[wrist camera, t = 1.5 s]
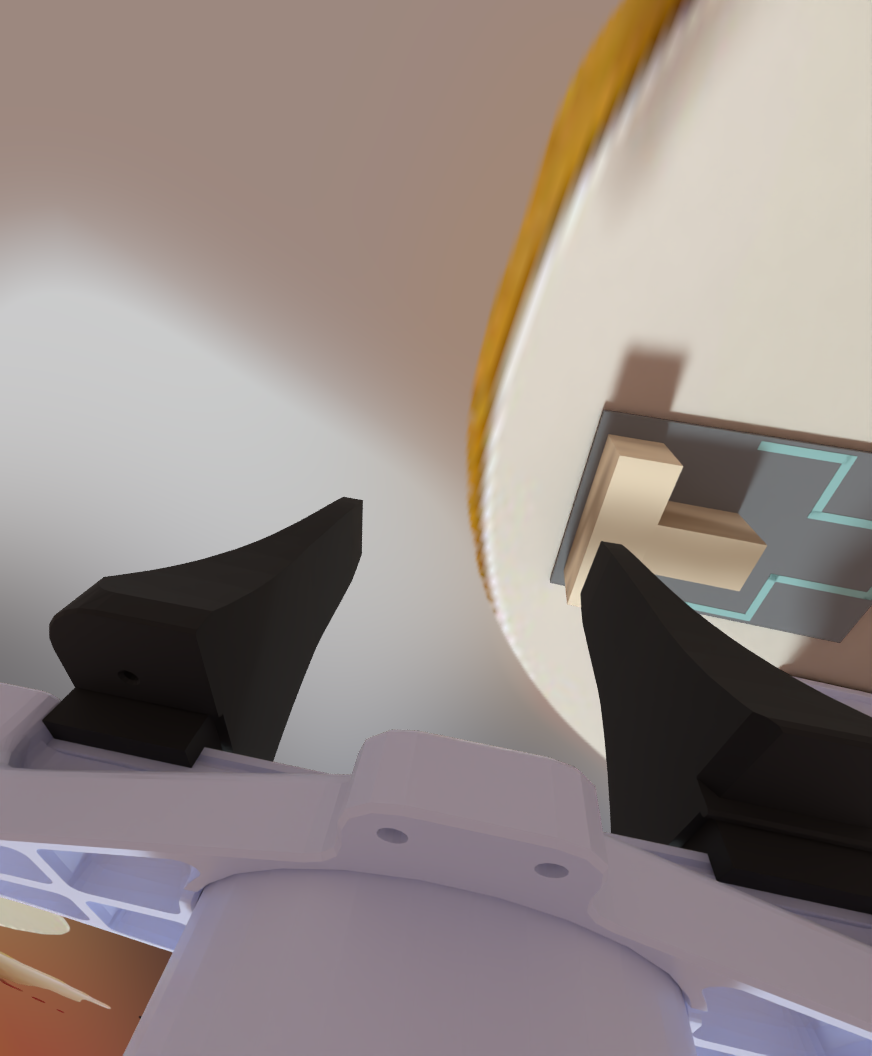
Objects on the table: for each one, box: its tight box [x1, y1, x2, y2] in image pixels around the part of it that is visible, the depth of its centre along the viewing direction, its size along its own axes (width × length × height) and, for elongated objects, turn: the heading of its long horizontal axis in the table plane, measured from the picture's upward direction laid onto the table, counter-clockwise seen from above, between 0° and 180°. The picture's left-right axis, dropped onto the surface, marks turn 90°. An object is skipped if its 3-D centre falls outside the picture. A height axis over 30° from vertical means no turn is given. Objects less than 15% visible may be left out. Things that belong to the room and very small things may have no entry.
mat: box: [550, 410, 872, 643], centre depth 21 cm, size 10×16×1 cm, turn 84°
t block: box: [564, 434, 767, 607], centre depth 20 cm, size 8×7×3 cm
